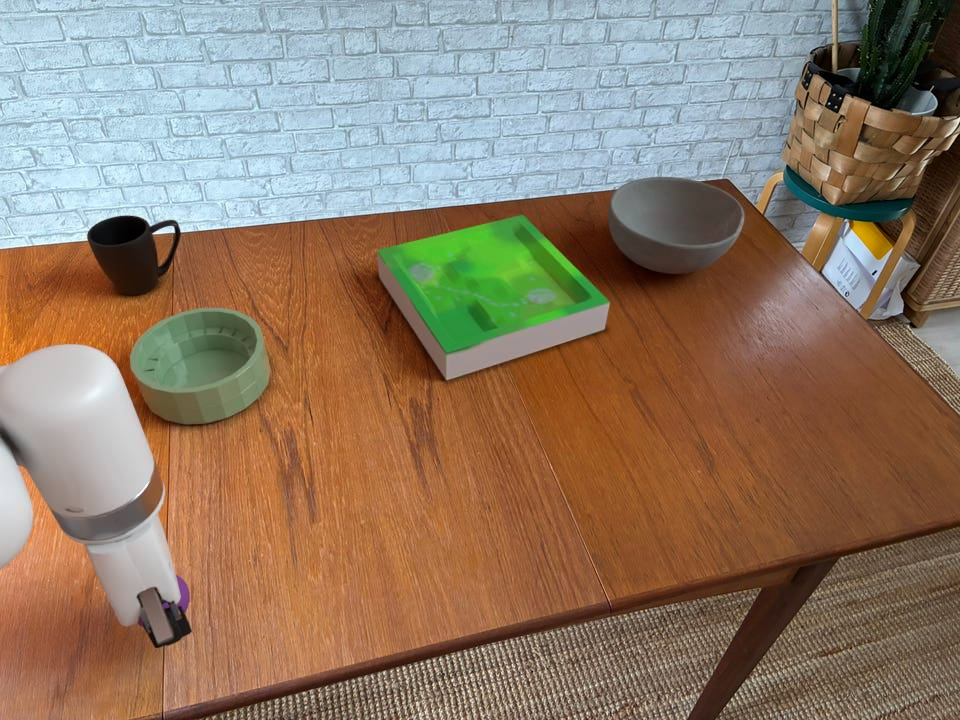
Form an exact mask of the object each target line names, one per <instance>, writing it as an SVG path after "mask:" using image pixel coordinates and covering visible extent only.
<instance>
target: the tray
mask: <svg viewBox="0 0 960 720" xmlns="http://www.w3.org/2000/svg"><path fill="white" fill-rule="evenodd" d="M376 255H377V268H378V270H377V271H378V278H379V280H380V281H381V282H382V284H383V286H384V287H385V288H386V290H387V292H388V293H389V295H390V296H391V298H392V299H393V301H394V302H395V304H396V306H397V307H398V309H399V310H400V312H401V313H402V315H403V316H404V318H405V320H406V321H407V322H408V324H409V325H410V327H411V328H412V330H413V332H414V333H415V335H416V336H417V338H418V339H419V341H420V342H421V345H422V346H423V347H424V349H425V350H426V352H427V354H429V356H430V358H431V359H432V361H433V362H434V364H435V365H436V367H437V369H439V372H440V373H441V375H442V376H443V378H444V380H445V381H449V380H452V379H456V378H459V377H462V376H466V375H468V374H471V373H475V372H478V371H481V370H485V369H487V368H490V367H493V366H496V365H500V364H502V363H506V362H508V361H512V360H515V359H518V358H521V357H524V356H527V355H531V354H534V353H537V352H539V351H542V350H545V349H549V348H552V347H554V346H555V347H556V346H558V345H561V344H564V343H567V342H571V341H572V340H577V339H580V338H582V337H586V336H589V335H592V334H595V333H598V332H601V331H604V330H605V329H606V325H607V319H608V314H609V309H610V305H611V301H609V299H608V298H606V296H604V294H603V293H602V292H601V291H599V289H598V288H597V287H596V286H595V285H593V284H592V282H591V281H590V280H589V279H588V278H587V277H586V276H585V275H584V274H583V273H582V272H581V271H580V270H579V269H578V268H577V267H576V266H574V264H573V263H572V262H571V261H569V260H568V258H566V256H565V255H563V253H562V252H561V251H560V250H559V249H558V248H557V247H556V246H555V245H554V244H553V243H552V242H551V241H550V240H549V239H548V238H547V237H546V236H545V235H544V234H543V233H542V232H541V231H540V230H539V229H538V228H536V226H535V225H534V224H532V222H531V221H530V220H528V218H527V217H526V216H524V214H519V215H516V216H512V217H507V218H504V219H500V220H495V221H492V222H491V221H490V222H487V223H483V224H479V225H473V226H471V227H466V228H462V229H459V230H454V231H450V232H445V233H442V234H437V235H434V236H430V237H424V238H421V239H417V240H413V241H409V242H404V243H401V244H397V245H392V246H388V247H383V248H380V249H376Z"/></svg>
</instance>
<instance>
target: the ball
mask: <svg viewBox="0 0 960 720" xmlns="http://www.w3.org/2000/svg"><path fill="white" fill-rule="evenodd" d="M176 578H177V582H178V586H179V591H180V595H181V598H180V600H179V602H178V604H177V606H182V609H183V611H184V613H185V614H186V612H187V610H188V609H189V605H190V600H191V594H190V589H189V587H188V584H187V583H186V581H185V580H184V579H183V578H182V577H181V576H180V575H178V574H176ZM162 605H163V608H164V609H166V608H168V607H169V605H168V602H166V603H164V604H162ZM136 625H139V626H140V627H141V628H144V626H143V621H142V618H141V616H140V617H139V621H138V623H136Z"/></svg>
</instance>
